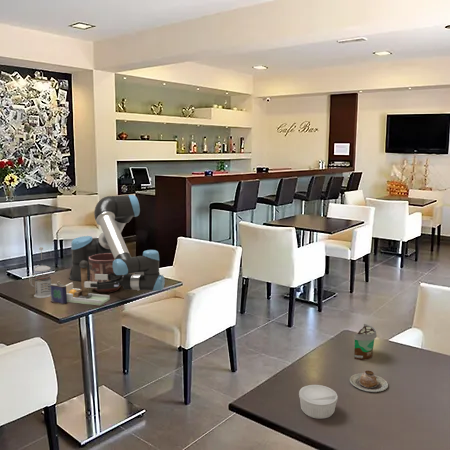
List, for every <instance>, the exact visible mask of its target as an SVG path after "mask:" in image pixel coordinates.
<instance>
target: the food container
mask: <svg viewBox="0 0 450 450" xmlns="http://www.w3.org/2000/svg"><path fill="white" fill-rule="evenodd" d="M377 337H378V335H377V331H376V328H375V327H374V326H372V325H370V324H365V323H364V324H363V327H362V328H361V329H359V331H358V333H354V338H353V339H354V353H353V354H354V356H353V357H354V360H357V361H359V360H360V361H366V360H370V359H372V357H373V353H374V344H375V339H376V338H377Z"/></svg>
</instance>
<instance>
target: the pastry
mask: <svg viewBox="0 0 450 450" xmlns="http://www.w3.org/2000/svg"><path fill="white" fill-rule="evenodd" d="M357 381H358V384H357ZM349 383H350V384H351V385H352V386H354V387H355V388H357V389H359V390H362V391H363V392H367V393H368V392H370V393H379V392H383V391H385V390H387V389H388V388H389V384H388V381H387V380H386V379H384V378H383V377H381V376H379V375H375V373H374V372H373V371H372V370H365V371H364V372H361V373H360V372H359V373H355V374H353V375H351V376H350V377H349ZM359 385H360V386H359ZM378 385H380V386H381V387H380V388H377V389H373V388H376V387H377V386H378ZM361 386H362V387H361Z"/></svg>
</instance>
